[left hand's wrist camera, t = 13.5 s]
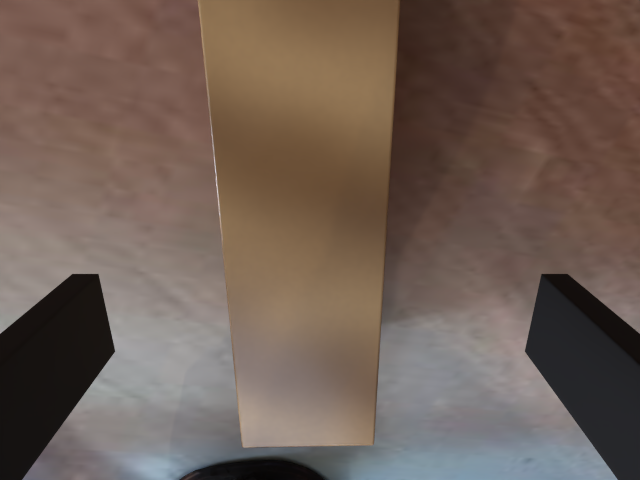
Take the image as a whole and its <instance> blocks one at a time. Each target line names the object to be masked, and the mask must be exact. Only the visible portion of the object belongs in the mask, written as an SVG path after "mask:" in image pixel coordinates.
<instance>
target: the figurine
mask: <svg viewBox="0 0 640 480" xmlns="http://www.w3.org/2000/svg"><path fill="white" fill-rule="evenodd" d="M180 480H324V479H323V478H322V477H321V476H319V475H318V474H316V473H315V472H313V471H311V470H309V469H307V468H305V467H302V466H299V465H297V464H294V463H290V462H285V461H275V460H269V461H249V462H238V463H231V464H224V465H217V466H211V467H207V468H203V469H199V470H195V471H193V472H191V473H189V474H187V475H186V476H184V477H183V478H181V479H180Z"/></svg>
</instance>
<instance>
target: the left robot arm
mask: <svg viewBox="0 0 640 480" xmlns="http://www.w3.org/2000/svg"><path fill="white" fill-rule="evenodd" d="M114 352H115V349H114V344H113V340H112V335H111V330H110V326H109V321H108V316H107V312H106V307H105V303H104V298H103V293H102V289H101V284H100V279H99V275H98V274H72V275H71V276H70V277H68V278H67V279H66V280H65V281H64V282H62V283H61V284H60V285H59V286H58V287H56V288H55V289H54V290H53V291H51V292H50V293H49V294H48V295H47V296H45V297H44V298H43V299H42V300H41V301H39V302H38V303H37V304H36V305H35V306H33V307H32V308H31V309H30V310H29V311H27V312H26V313H25V314H24V315H23V316H21V317H20V318H19V319H18V320H16V321H15V322H14V323H13V324H12V325H10V326H9V327H8V328H7V329H6V330H4V331H3V332H2V333H1V334H0V480H22V479H23V478H24V476H25V475H26V473H27V472H28V471H29V469H30V468H31V467H32V465H33V464H34V462H35V461H36V460H37V458H38V457H39V456H40V454H41V453H42V451H43V450H44V449H45V447H46V446H47V444H48V443H49V442H50V440H51V439H52V438H53V436H54V435H55V433H56V432H57V431H58V429H59V428H60V427H61V425H62V424H63V422H64V421H65V420H66V418H67V417H68V416H69V414H70V413H71V411H72V410H73V409H74V407H75V406H76V405H77V403H78V402H79V400H80V399H81V398H82V396H83V395H84V394H85V392H86V391H87V389H88V388H89V387H90V385H91V384H92V382H93V381H94V380H95V378H96V377H97V376H98V374H99V373H100V371H101V370H102V369H103V367H104V366H105V365H106V363H107V362H108V360H109V359H110V358H111V356H112V355H113V354H114ZM525 352H526V354H527V355H528V356H529V358H530V359H531V360H532V362H533V363H534V365H535V366H536V367H537V369H538V370H539V371H540V373H541V374H542V376H543V377H544V378H545V380H546V381H547V382H548V384H549V385H550V387H551V388H552V389H553V391H554V392H555V394H556V395H557V396H558V398H559V399H560V400H561V402H562V403H563V405H564V406H565V407H566V409H567V410H568V411H569V413H570V414H571V416H572V417H573V418H574V420H575V421H576V422H577V424H578V425H579V427H580V428H581V429H582V431H583V432H584V433H585V435H586V436H587V438H588V439H589V440H590V442H591V443H592V444H593V446H594V447H595V449H596V450H597V451H598V453H599V454H600V456H601V457H602V458H603V460H604V461H605V462H606V464H607V465H608V467H609V468H610V469H611V471H612V472H613V473H614V475H615V476H616V478H617V479H618V480H640V334H639V333H638V332H637V331H636V330H634V329H633V328H632V327H631V326H630V325H628V324H627V323H626V322H625V321H624V320H622V319H621V318H620V317H619V316H617V315H616V314H615V313H614V312H613V311H611V310H610V309H609V308H608V307H607V306H605V305H604V304H603V303H602V302H601V301H599V300H598V299H597V298H596V297H595V296H593V295H592V294H591V293H590V292H589V291H587V290H586V289H585V288H584V287H582V286H581V285H580V284H579V283H578V282H576V281H575V280H574V279H573V278H572V277H570V276H569V275H568V274H542V275H541V279H540V284H539V289H538V293H537V298H536V303H535V307H534V312H533V316H532V321H531V326H530V330H529V335H528V340H527V344H526V349H525Z"/></svg>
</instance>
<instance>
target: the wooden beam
mask: <svg viewBox="0 0 640 480" xmlns="http://www.w3.org/2000/svg"><path fill="white" fill-rule="evenodd" d="M198 6H199V16H200V26H201V37H202V47H203V57H204V67H205V77H206V87H207V97H208V107H209V118H210V128H211V138H212V148H213V158H214V168H215V178H216V188H217V199H218V209H219V219H220V229H221V239H222V249H223V259H224V270H225V280H226V290H227V300H228V310H229V320H230V330H231V340H232V351H233V361H234V371H235V381H236V391H237V401H238V411H239V421H240V432H241V442H242V447H244V448H247V447H303V446H359V445H373V444H374V436H375V419H376V402H377V385H378V368H379V352H380V335H381V318H382V301H383V285H384V268H385V251H386V234H387V218H388V201H389V184H390V167H391V150H392V134H393V117H394V100H395V83H396V67H397V50H398V33H399V16H400V0H198Z"/></svg>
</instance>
